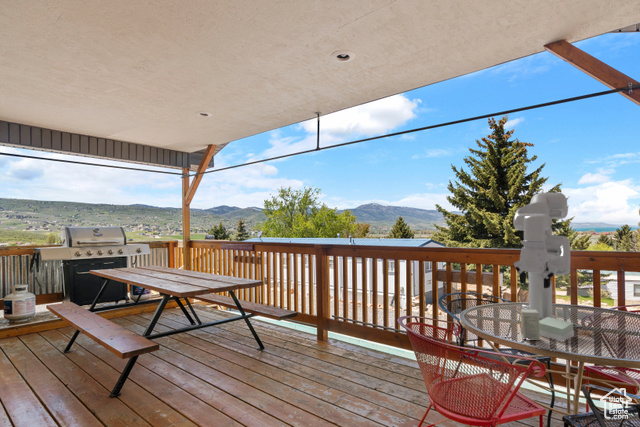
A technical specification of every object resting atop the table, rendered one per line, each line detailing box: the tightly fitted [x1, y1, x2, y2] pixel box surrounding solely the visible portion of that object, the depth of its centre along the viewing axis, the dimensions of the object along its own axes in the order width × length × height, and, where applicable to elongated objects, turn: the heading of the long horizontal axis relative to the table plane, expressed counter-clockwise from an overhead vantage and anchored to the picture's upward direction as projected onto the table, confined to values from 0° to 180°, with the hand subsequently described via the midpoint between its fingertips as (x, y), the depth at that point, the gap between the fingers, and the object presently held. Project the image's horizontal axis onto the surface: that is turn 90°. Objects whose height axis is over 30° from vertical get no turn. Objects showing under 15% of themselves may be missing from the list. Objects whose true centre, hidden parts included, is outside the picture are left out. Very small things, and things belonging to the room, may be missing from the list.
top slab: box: [539, 317, 574, 336], centre depth 153 cm, size 10×10×3 cm
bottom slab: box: [539, 329, 575, 342], centre depth 153 cm, size 10×10×3 cm
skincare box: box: [520, 308, 541, 341], centre depth 151 cm, size 6×4×12 cm
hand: (534, 285), depth 149 cm, fingers open, 9 cm apart
